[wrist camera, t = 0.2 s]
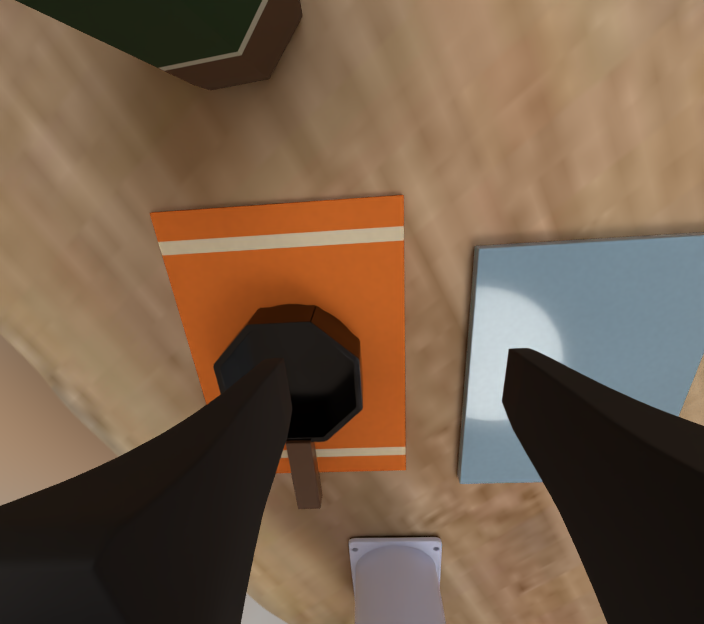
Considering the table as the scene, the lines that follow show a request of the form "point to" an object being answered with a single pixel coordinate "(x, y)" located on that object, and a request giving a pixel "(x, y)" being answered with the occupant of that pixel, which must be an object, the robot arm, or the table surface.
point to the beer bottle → (188, 34)
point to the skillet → (302, 379)
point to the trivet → (579, 330)
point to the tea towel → (301, 298)
